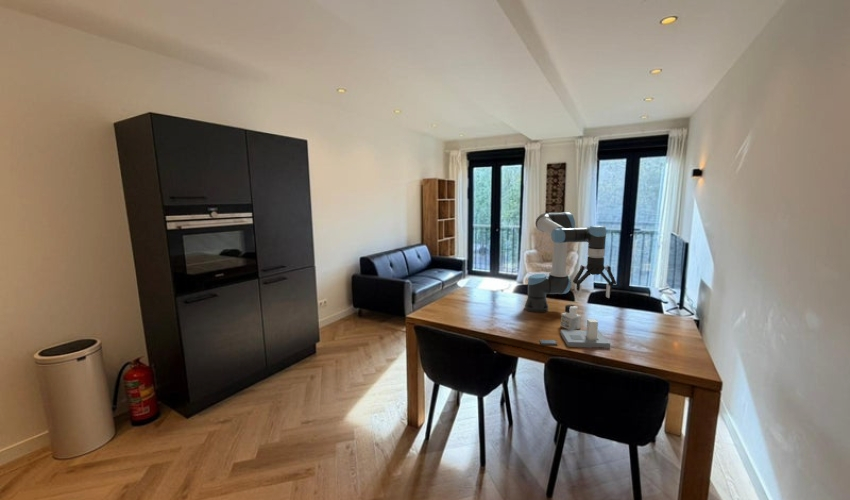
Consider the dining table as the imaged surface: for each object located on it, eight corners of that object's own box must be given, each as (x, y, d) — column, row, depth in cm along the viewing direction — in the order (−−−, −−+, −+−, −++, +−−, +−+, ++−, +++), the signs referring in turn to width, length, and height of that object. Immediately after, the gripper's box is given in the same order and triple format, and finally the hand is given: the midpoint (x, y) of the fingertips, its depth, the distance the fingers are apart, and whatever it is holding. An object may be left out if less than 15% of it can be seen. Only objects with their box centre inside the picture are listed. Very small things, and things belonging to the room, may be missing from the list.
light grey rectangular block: (585, 340, 180) (587, 319, 178) (594, 341, 179) (595, 319, 177) (588, 344, 176) (589, 321, 174) (596, 344, 175) (597, 322, 174)
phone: (539, 341, 181) (539, 339, 181) (555, 341, 180) (555, 340, 179) (541, 344, 177) (541, 343, 176) (557, 345, 175) (557, 343, 175)
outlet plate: (560, 333, 189) (560, 329, 189) (598, 335, 186) (599, 330, 186) (567, 346, 174) (568, 341, 173) (610, 348, 171) (610, 343, 170)
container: (560, 326, 201) (561, 304, 199) (570, 323, 203) (571, 302, 201) (570, 330, 194) (571, 308, 192) (580, 328, 196) (582, 306, 194)
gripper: (571, 257, 171) (569, 298, 175) (625, 258, 167) (622, 299, 171) (568, 254, 179) (566, 294, 182) (619, 255, 175) (616, 295, 178)
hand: (593, 296), depth 177 cm, fingers open, 13 cm apart
